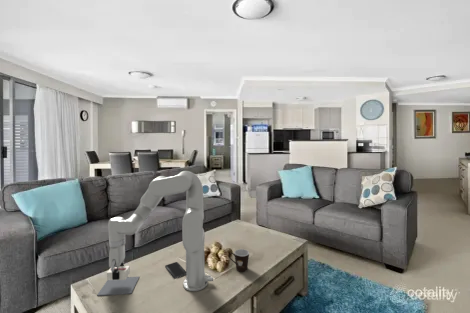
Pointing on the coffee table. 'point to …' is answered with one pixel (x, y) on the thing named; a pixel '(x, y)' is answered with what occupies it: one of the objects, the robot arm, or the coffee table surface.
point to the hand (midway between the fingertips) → (118, 275)
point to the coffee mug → (241, 259)
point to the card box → (123, 272)
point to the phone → (175, 270)
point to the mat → (118, 286)
